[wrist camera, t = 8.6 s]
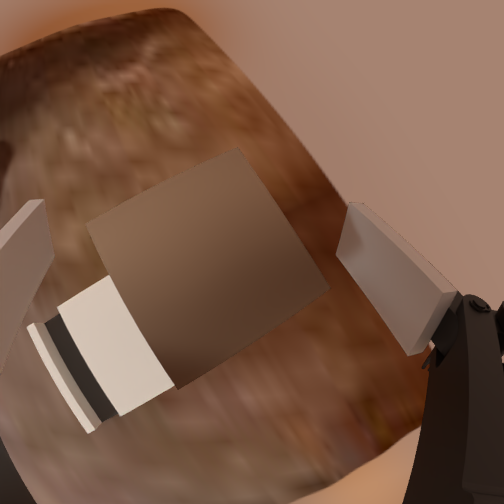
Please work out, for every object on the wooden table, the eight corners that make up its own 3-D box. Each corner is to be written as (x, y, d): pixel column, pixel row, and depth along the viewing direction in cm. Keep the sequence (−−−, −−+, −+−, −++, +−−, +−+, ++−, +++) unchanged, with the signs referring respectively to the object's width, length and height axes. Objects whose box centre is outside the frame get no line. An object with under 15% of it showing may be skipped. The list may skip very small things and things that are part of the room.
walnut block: (137, 283, 16) (85, 224, 7) (206, 243, 18) (237, 147, 8) (180, 354, 16) (178, 389, 6) (249, 311, 17) (330, 288, 8)
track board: (40, 327, 16) (26, 327, 14) (194, 234, 20) (196, 224, 18) (96, 424, 15) (87, 433, 14) (254, 329, 19) (262, 329, 17)
